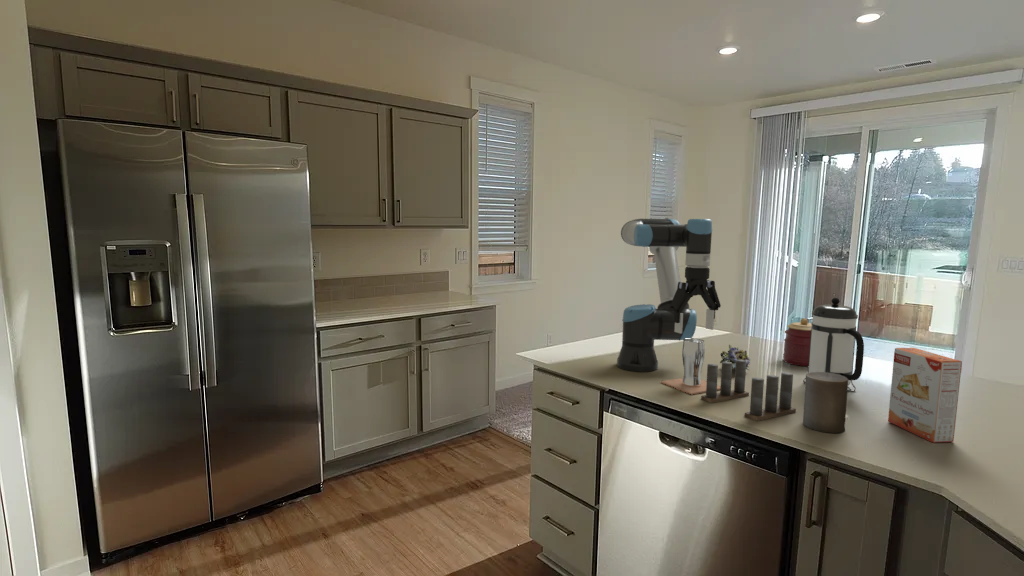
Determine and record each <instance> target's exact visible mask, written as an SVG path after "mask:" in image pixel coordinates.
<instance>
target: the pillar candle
mask: <svg viewBox="0 0 1024 576" xmlns="http://www.w3.org/2000/svg"><path fill="white" fill-rule="evenodd" d="M805 378H806V379H805V383H804V384H805V385H804V387H805V388H804V399H803V415H802V418H803V419H802V423H803V425H804V427H806V426H807V427H806V428H808V427H809V428H808V429H811V430H813V429H814V431H817V432H818V431H819V432H823V433H831V434H839V433H840V432H841V433H843V432H845V431H846V416H847V415H846V414H847V401H848V390H849V389H848V387H849V385H848V378H846V377H844V376H842V375H838V374H833V373H828V372H827V373H826V372H810V373H808V372H806V373H805ZM841 433H840V434H841Z"/></svg>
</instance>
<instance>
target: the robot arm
mask: <svg viewBox="0 0 1024 576" xmlns="http://www.w3.org/2000/svg"><path fill="white" fill-rule="evenodd" d="M712 221H713V220H712V219H710V218H690V219H688V221H687V224H686V223H685V224H680V222H679V220H677V219H675V218H668V217H667V218H666V217H665V218H636V219H632V220H629V221H627V222H626V223H624V224H623V225H622V227H621V230H620V237H621V239H622V241H624V243H626V244H628V245H629V246H634V247H635V246H636V247H643V248H649V251H650V254H652V255H653V256H654V263H655V272H656V277H657V285H658V291H659V292H658V293H659V298H660V299H659V300H660V303H659V304H658V305H657V308H656V306H655V305H654V304H649V303H648V304H645V303H644V304H635V305H631V306H628V307H626V308H624V310H623V313H622V339H621V340H622V341H621V342H622V343H621V348H620V350H619V354H618V357H617V358H616V359H617V360H616V366H617V367H618V368H619V369H622V370H625V371H631V372H643V371H644V372H653V371H657V370H658V369H659V362H658V361H659V360H658V359H657V354H656V350H655V346H654V345H655V340H659V341H661V340H662V341H679V342H680V341H683V339H685V338H694V334H695V333H696V328H697V320H698V317H697V316H698V315H697V311H696V310H695V309H694V308H690V305H689V302H690V300H691V298H693V297H694V296H700V297H701V298H702V300H703V301H704V303H705V305H706V306H707V308H708V309H707V308H706V311H705V314H706V315H705V329H707V330H710V331H711V330H712V331H714V323H715V319H716V311H719V309H720V308H721V306H722V305H721V301H720V299H719V296H718V292H717V290H716V283H715V281H714V280H710V273H711V272H710V269H711V268H710V267H709V266H710V265H711V253H712V251H711V250H712V236H713V222H712ZM683 247H685V261H684V263H685V266H686V267H684V278H685V280H686V281H685V282H682V280H681V274H680V268H679V262H678V256H677V251H678V250H679V248H683Z"/></svg>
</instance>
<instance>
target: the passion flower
mask: <svg viewBox="0 0 1024 576" xmlns="http://www.w3.org/2000/svg"><path fill="white" fill-rule="evenodd" d="M728 349H729V350H727V351H726V350H725V351H724V350H722V352H720V357H721V360H720V361H719V364H722V362H731V363H732V369H733V370H734V371H735V365H736V360H745V361H746V371H750V370H751V369H750V366H749V365H750V364H751V358H749V355H748V353H747V350H743V349H739V347H733V346H732V345H731V344H728Z"/></svg>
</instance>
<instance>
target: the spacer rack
mask: <svg viewBox="0 0 1024 576" xmlns="http://www.w3.org/2000/svg"><path fill="white" fill-rule="evenodd" d="M706 371H707V372H706V381H707V385H706V393H705V394H704V395H701V396H700V399H701V400H703V401H705V402H708V403H711V404H712V403H717V402H724V401H729V400H734V399H739V398H744V397H750V402H749V404H750V405H749V411H746V412H744V414H743V415H744V417H745V418H749V419H751V420H753V421H754V422H755V421H756V422H757V421H762V420H767V419H768V420H769V419H772V418H776V417H782V416H786V415H790V414H795V413H796V412H797V408H795V407H792V397H793V396H792V395H793V385H794V384H793V382H794V374H793V373H791V372H781V373H780V376H778V375H774V374H767V375H766V383H765V380H764V378H762V377H757V376H756V377H752V378H751V387H750V388H751V389H750V392H749V391H746V390H745V386H746V371H747V369H746V361H745V360H736V365H735V370H734V383H733V384H734V385H733V389H732V377H733V368H732V362H727V361H726V362H722V363H721V371H720V372H721V375H720V386H721V388H720V390H719V392H718V390H717V385H718V374H719V365H718V364H717V363H707V369H706ZM779 379H780V380H779ZM779 381H780V383H779ZM764 383H765V384H766V386H765V384H764ZM779 384H780V388H779ZM764 386H765V401H764V403H763V400H764V399H763V398H764ZM778 393H779V394H778ZM749 395H750V396H749ZM778 395H779V396H778ZM778 397H779V402H778ZM763 404H764V408H763Z"/></svg>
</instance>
